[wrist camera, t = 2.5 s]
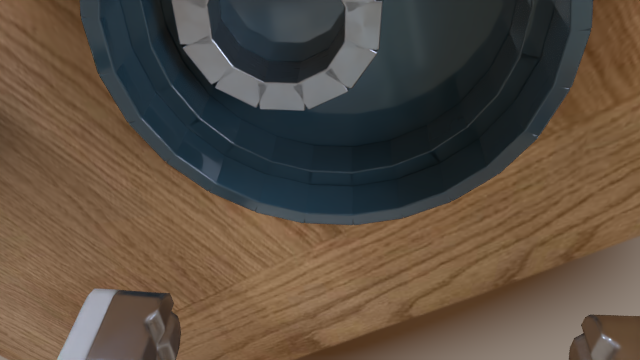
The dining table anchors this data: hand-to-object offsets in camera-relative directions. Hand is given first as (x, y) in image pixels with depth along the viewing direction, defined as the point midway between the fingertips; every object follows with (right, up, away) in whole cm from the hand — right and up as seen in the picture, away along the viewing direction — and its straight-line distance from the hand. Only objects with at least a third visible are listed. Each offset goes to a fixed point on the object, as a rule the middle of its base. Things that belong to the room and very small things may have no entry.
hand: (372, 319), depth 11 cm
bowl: (0, +10, +12) cm, 16 cm away
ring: (-3, +10, +12) cm, 15 cm away
